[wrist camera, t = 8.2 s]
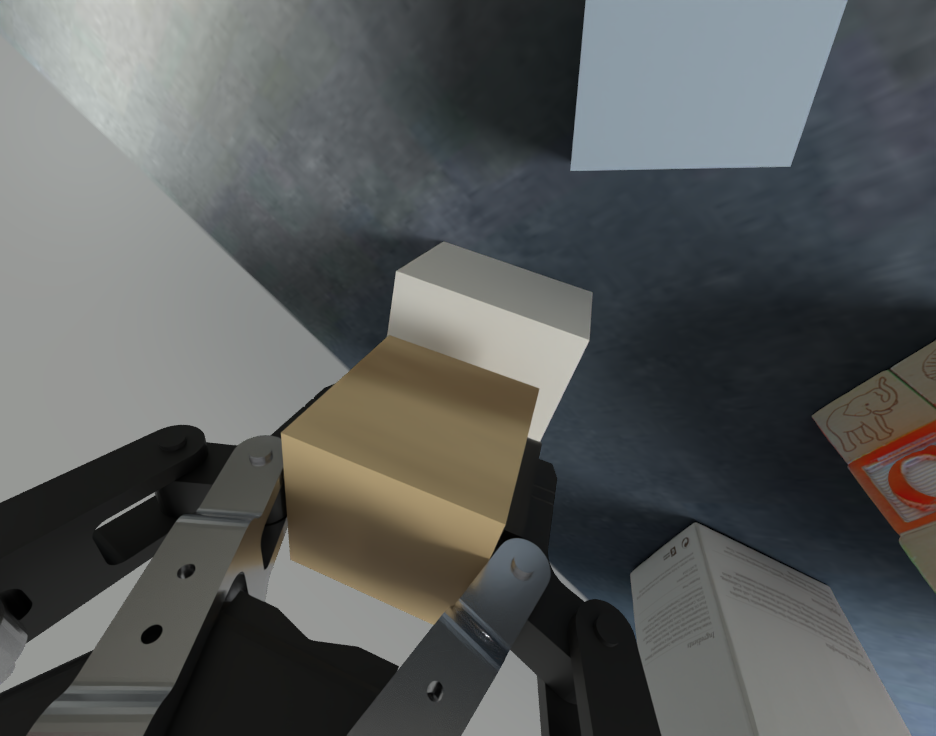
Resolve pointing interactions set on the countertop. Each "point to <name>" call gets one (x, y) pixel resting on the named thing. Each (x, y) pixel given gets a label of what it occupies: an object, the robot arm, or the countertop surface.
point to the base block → (494, 320)
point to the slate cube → (698, 81)
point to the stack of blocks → (894, 449)
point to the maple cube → (406, 475)
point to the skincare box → (750, 647)
